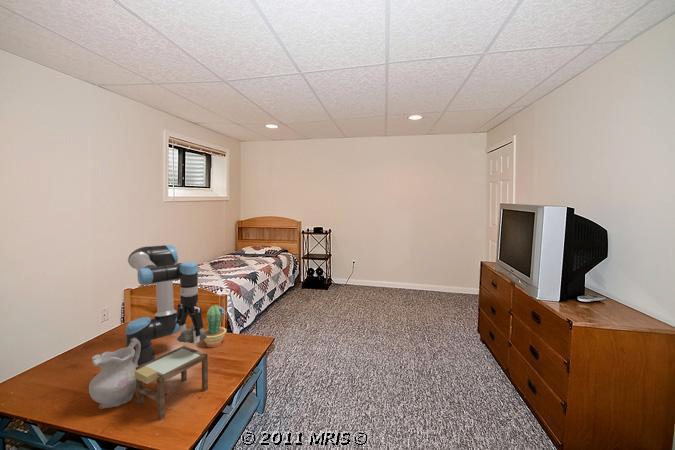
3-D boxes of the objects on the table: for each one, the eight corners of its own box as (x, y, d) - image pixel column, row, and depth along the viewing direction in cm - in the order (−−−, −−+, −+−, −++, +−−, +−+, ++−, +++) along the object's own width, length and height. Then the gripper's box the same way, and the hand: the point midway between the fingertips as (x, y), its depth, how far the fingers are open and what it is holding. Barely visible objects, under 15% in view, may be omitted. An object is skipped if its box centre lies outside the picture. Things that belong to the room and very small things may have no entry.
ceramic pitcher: (116, 386, 140) (110, 337, 138) (157, 381, 141) (151, 333, 140) (79, 418, 118) (72, 361, 117) (128, 413, 120) (121, 356, 118)
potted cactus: (220, 350, 174) (220, 310, 173) (196, 349, 175) (195, 309, 173) (230, 338, 190) (230, 302, 188) (207, 338, 190) (207, 301, 189)
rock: (182, 348, 130) (182, 334, 130) (172, 343, 134) (171, 330, 134) (208, 337, 141) (208, 324, 141) (198, 333, 146) (198, 321, 146)
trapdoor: (131, 376, 121) (131, 369, 120) (182, 352, 141) (182, 346, 141) (150, 385, 115) (150, 378, 114) (200, 359, 135) (200, 353, 135)
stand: (136, 405, 125) (135, 367, 124) (184, 378, 145) (184, 345, 144) (160, 420, 117) (159, 379, 116) (207, 389, 137) (207, 354, 136)
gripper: (167, 293, 137) (168, 338, 139) (197, 300, 128) (198, 348, 129) (181, 289, 144) (182, 332, 145) (211, 295, 135) (212, 341, 136)
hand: (189, 340), depth 137 cm, fingers closed on rock, 9 cm apart
